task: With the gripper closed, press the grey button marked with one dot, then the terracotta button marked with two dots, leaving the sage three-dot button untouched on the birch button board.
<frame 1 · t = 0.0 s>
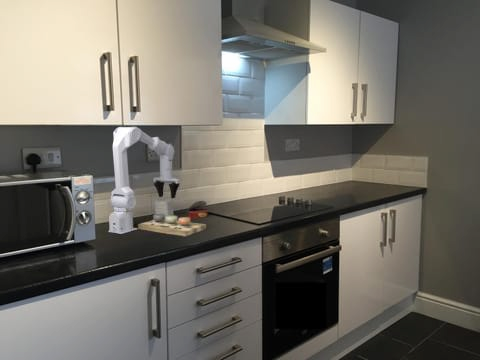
hand: (167, 197, 203), 10 cm above the countertop, fingers open, 7 cm apart
sage button: (171, 218, 182), point 4 cm above the countertop, slide at 0.0 cm
grey button: (159, 217, 186), point 4 cm above the countertop, slide at 0.0 cm
button board: (171, 228, 183), on the countertop
canned food: (198, 216, 209), on the countertop
medicine box: (164, 218, 205), on the countertop
terracotta button: (184, 220, 178), point 4 cm above the countertop, slide at 0.0 cm
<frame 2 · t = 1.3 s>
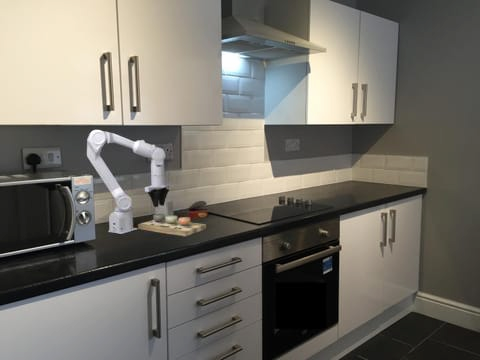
hand: (158, 206, 185), 9 cm above the countertop, fingers open, 3 cm apart
nothing on the countertop moved.
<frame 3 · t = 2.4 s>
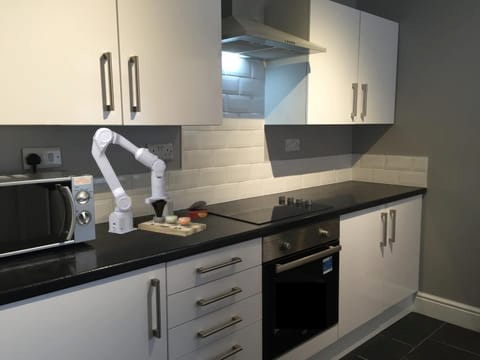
hand: (159, 217, 186), 4 cm above the countertop, fingers closed, pressing on grey button
grey button: (159, 219, 186), point 4 cm above the countertop, slide at 0.9 cm, touching gripper
everything else where it was.
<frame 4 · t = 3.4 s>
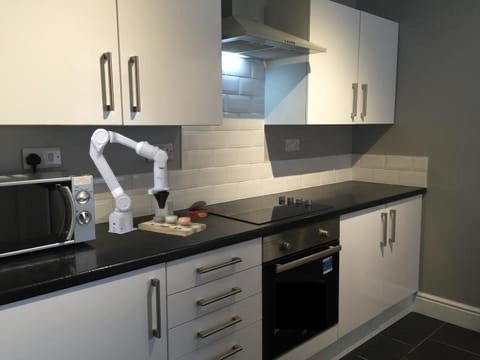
hand: (161, 208, 184), 8 cm above the countertop, fingers closed
grey button: (159, 219, 186), point 4 cm above the countertop, slide at 0.9 cm
everything else where it was.
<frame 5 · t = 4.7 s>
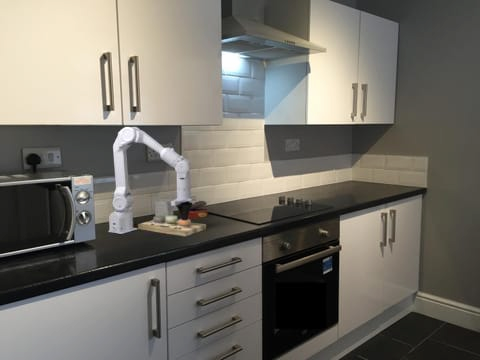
hand: (184, 219, 178), 5 cm above the countertop, fingers closed, pressing on terracotta button
terracotta button: (184, 222, 179), point 4 cm above the countertop, slide at 0.6 cm, touching gripper
everything else where it was.
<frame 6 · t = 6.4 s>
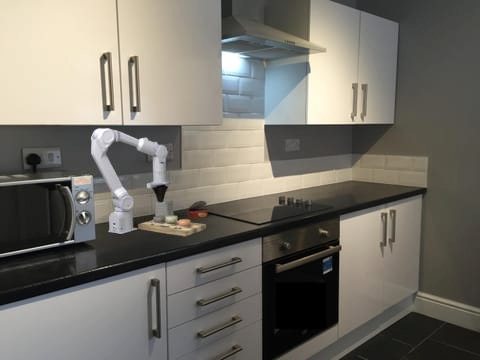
hand: (160, 202, 189), 10 cm above the countertop, fingers closed
terracotta button: (184, 222, 179), point 4 cm above the countertop, slide at 0.9 cm
everything else where it was.
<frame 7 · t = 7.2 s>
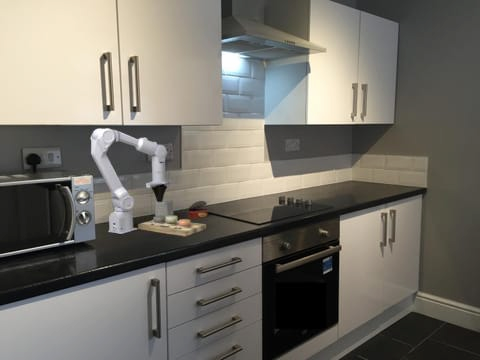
hand: (159, 201, 190), 10 cm above the countertop, fingers closed
nothing on the countertop moved.
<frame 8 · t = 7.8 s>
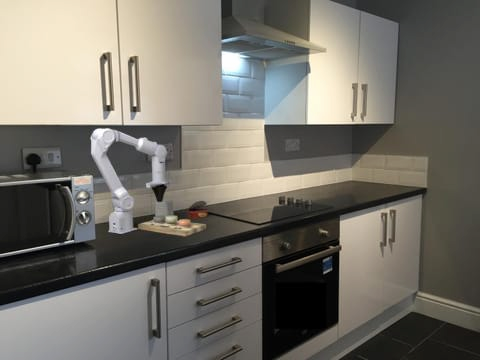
hand: (159, 201, 190), 10 cm above the countertop, fingers closed
nothing on the countertop moved.
at the end: grey button slide at 0.9 cm; terracotta button slide at 0.9 cm; sage button slide at 0.0 cm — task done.
